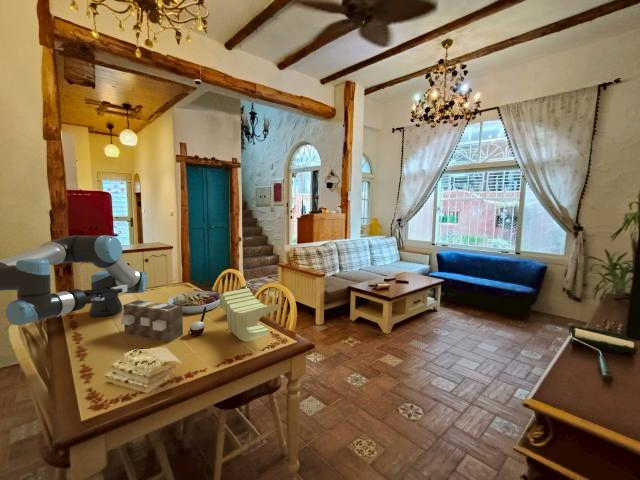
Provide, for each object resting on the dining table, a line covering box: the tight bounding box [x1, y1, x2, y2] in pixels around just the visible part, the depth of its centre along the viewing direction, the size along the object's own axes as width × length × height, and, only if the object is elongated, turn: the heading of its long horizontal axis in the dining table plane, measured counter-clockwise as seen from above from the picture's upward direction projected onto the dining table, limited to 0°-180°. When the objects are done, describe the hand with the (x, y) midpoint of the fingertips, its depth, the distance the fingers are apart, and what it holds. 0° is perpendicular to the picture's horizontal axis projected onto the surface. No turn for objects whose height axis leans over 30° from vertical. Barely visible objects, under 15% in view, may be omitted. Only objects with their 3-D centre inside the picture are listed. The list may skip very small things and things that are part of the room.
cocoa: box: [187, 307, 207, 337], centre depth 141 cm, size 10×6×12 cm, turn 125°
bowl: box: [166, 290, 222, 315], centre depth 179 cm, size 30×30×8 cm
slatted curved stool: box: [219, 287, 281, 342], centre depth 143 cm, size 30×16×18 cm, turn 41°
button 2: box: [153, 320, 167, 331], centre depth 132 cm, size 4×3×3 cm
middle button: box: [140, 317, 151, 326], centre depth 136 cm, size 4×3×3 cm
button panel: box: [122, 299, 184, 343], centre depth 139 cm, size 26×8×15 cm, turn 74°
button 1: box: [120, 314, 135, 325], centre depth 137 cm, size 4×3×3 cm
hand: (125, 288), depth 125 cm, fingers closed
